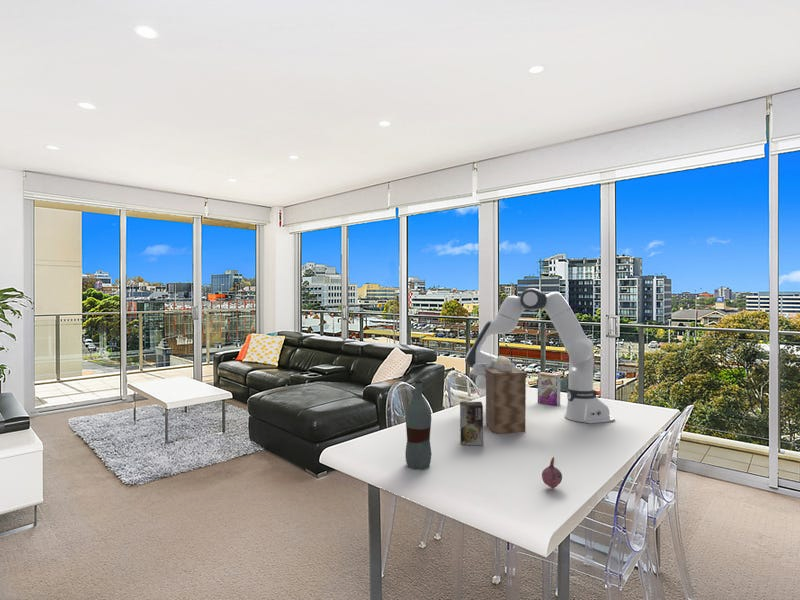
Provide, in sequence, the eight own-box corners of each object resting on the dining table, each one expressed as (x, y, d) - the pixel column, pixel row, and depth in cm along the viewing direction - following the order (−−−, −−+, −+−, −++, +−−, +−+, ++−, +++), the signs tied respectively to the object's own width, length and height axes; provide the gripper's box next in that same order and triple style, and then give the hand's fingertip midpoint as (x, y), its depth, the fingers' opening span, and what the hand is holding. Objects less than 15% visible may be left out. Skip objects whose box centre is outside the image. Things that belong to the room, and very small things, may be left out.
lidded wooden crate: (516, 424, 215) (516, 368, 215) (527, 432, 202) (527, 372, 202) (484, 425, 214) (484, 368, 213) (493, 433, 201) (493, 373, 200)
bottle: (435, 468, 161) (435, 381, 161) (410, 471, 158) (410, 383, 158) (426, 459, 170) (426, 377, 170) (402, 462, 167) (402, 378, 167)
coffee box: (482, 440, 192) (482, 401, 191) (483, 445, 185) (483, 405, 185) (459, 440, 193) (459, 400, 192) (460, 445, 186) (460, 404, 186)
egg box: (499, 365, 222) (499, 353, 222) (512, 371, 205) (512, 358, 205) (490, 365, 222) (490, 353, 222) (502, 371, 204) (502, 358, 204)
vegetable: (551, 494, 141) (551, 461, 140) (537, 486, 146) (537, 454, 146) (566, 490, 143) (566, 458, 143) (552, 483, 149) (552, 452, 149)
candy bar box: (537, 402, 258) (537, 373, 258) (541, 401, 262) (541, 371, 262) (556, 405, 251) (557, 375, 250) (560, 404, 254) (560, 374, 254)
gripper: (468, 367, 230) (475, 356, 218) (508, 366, 232) (517, 356, 220) (470, 379, 227) (477, 369, 215) (511, 378, 229) (520, 368, 217)
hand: (498, 362), depth 218 cm, fingers closed on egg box, 4 cm apart
